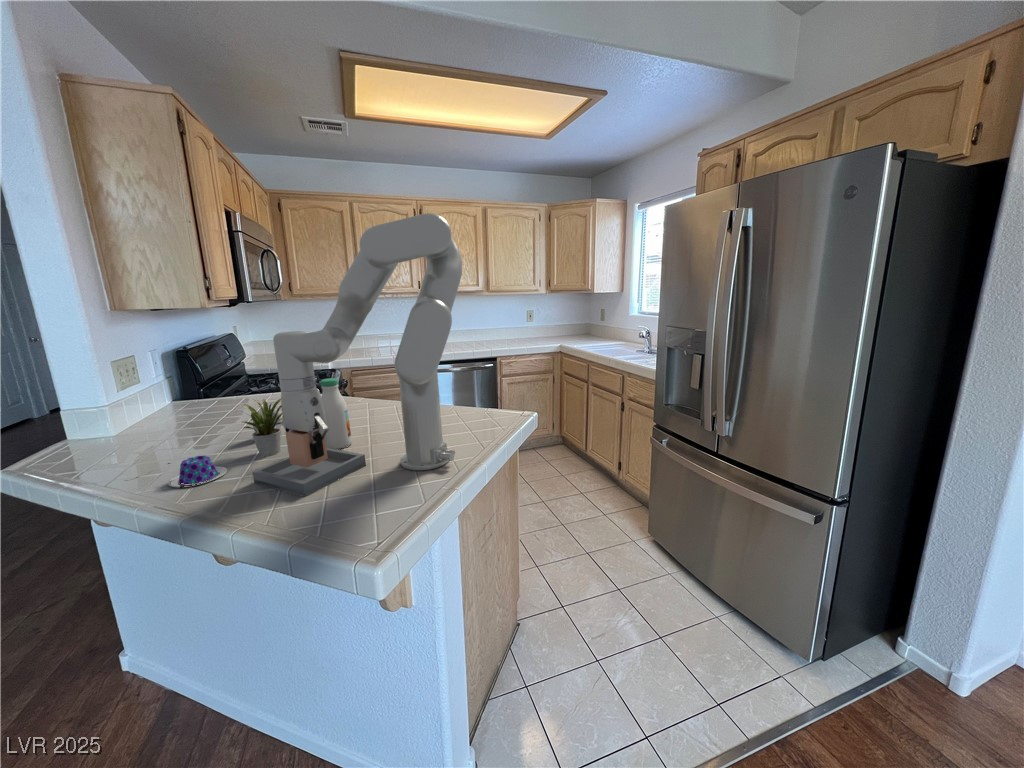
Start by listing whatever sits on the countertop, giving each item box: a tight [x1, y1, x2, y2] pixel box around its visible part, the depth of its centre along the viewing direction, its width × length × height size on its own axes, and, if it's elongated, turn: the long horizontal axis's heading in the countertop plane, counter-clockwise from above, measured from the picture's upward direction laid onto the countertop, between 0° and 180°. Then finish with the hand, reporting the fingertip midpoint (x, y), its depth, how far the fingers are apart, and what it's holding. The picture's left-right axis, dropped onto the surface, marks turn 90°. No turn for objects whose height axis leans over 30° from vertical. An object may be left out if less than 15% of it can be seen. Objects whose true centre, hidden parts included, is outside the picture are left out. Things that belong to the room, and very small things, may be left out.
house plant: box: [235, 398, 283, 457], centre depth 120 cm, size 14×14×16 cm
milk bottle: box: [320, 377, 353, 450], centre depth 122 cm, size 8×8×20 cm
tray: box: [251, 448, 367, 497], centre depth 105 cm, size 18×18×3 cm
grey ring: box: [252, 405, 283, 433], centre depth 134 cm, size 10×4×10 cm, turn 166°
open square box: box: [285, 427, 328, 467], centre depth 103 cm, size 6×6×8 cm
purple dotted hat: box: [167, 455, 228, 488], centre depth 105 cm, size 12×12×5 cm
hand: (308, 454), depth 104 cm, fingers closed on open square box, 6 cm apart
